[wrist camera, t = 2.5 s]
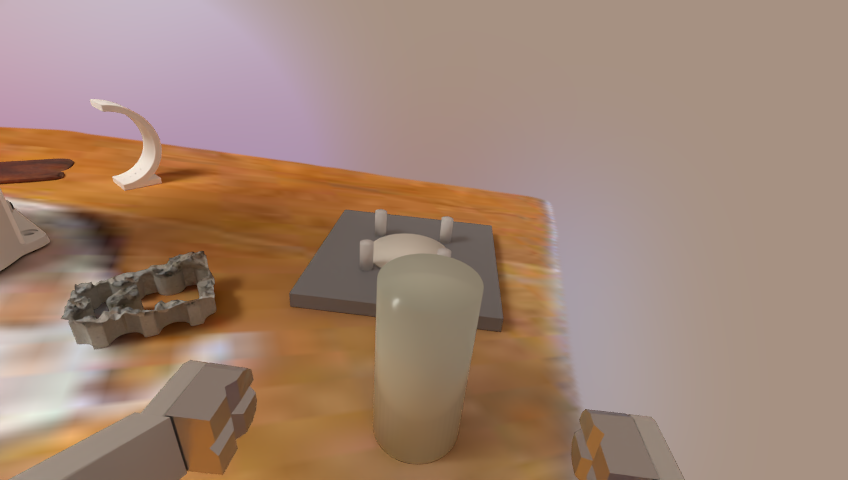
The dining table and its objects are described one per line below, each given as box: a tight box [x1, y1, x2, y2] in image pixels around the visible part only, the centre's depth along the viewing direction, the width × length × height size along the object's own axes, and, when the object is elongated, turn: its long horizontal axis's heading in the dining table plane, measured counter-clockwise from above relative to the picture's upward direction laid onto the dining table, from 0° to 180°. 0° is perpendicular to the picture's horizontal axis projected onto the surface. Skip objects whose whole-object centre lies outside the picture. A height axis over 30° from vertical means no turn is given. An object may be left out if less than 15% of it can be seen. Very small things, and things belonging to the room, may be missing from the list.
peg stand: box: [289, 209, 503, 332], centre depth 46 cm, size 20×20×4 cm
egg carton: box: [61, 251, 217, 349], centre depth 36 cm, size 11×8×4 cm
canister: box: [373, 254, 484, 464], centre depth 26 cm, size 6×6×12 cm
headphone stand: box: [90, 99, 162, 190], centre depth 60 cm, size 5×6×12 cm
